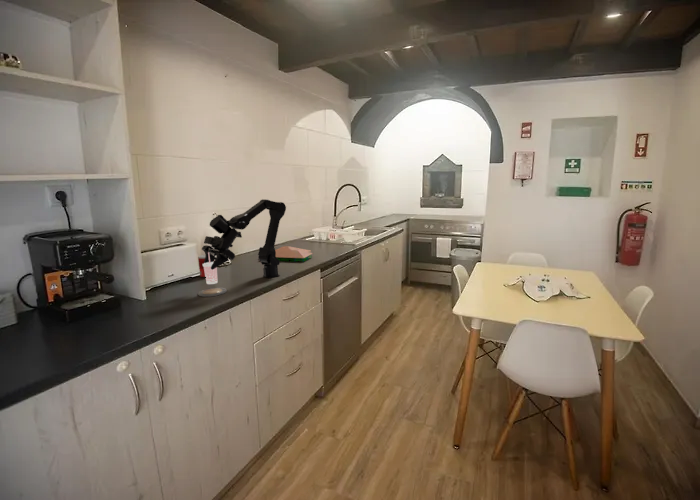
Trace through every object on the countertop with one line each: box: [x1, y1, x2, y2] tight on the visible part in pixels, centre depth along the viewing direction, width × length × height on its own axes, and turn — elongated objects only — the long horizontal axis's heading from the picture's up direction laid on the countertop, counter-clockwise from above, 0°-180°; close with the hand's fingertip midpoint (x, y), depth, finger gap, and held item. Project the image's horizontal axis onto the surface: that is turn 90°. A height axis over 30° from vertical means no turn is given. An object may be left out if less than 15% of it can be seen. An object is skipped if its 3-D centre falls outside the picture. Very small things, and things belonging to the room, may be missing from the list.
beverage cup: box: [203, 252, 219, 285], centre depth 159 cm, size 6×6×14 cm
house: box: [275, 245, 314, 263], centre depth 232 cm, size 23×33×8 cm
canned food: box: [197, 254, 215, 278], centre depth 190 cm, size 8×8×11 cm
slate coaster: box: [197, 287, 228, 298], centre depth 161 cm, size 12×12×1 cm
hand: (207, 268), depth 158 cm, fingers closed on beverage cup, 6 cm apart
